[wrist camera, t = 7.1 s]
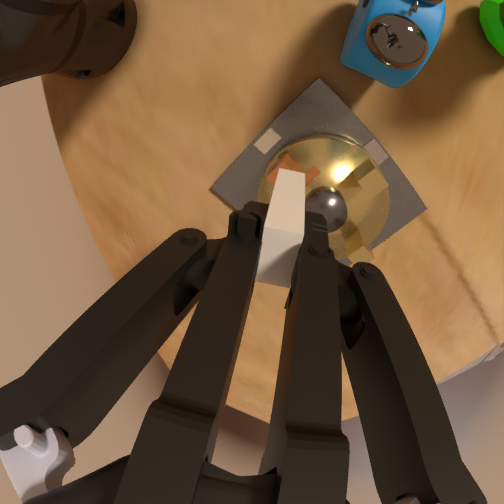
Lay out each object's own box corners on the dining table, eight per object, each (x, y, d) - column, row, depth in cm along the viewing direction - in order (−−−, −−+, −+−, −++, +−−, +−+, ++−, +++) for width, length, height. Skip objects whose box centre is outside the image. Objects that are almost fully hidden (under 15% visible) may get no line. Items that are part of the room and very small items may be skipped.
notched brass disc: (317, 266, 41) (317, 297, 36) (236, 192, 36) (222, 215, 31) (406, 203, 32) (421, 228, 27) (326, 107, 28) (331, 113, 23)
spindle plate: (212, 184, 38) (210, 188, 37) (318, 78, 27) (319, 77, 26) (320, 279, 44) (320, 284, 43) (424, 205, 33) (427, 209, 32)
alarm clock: (380, 87, 26) (430, 96, 14) (331, 66, 26) (351, 55, 14) (409, 5, 18) (466, -26, 6) (362, -18, 18) (394, -68, 6)
